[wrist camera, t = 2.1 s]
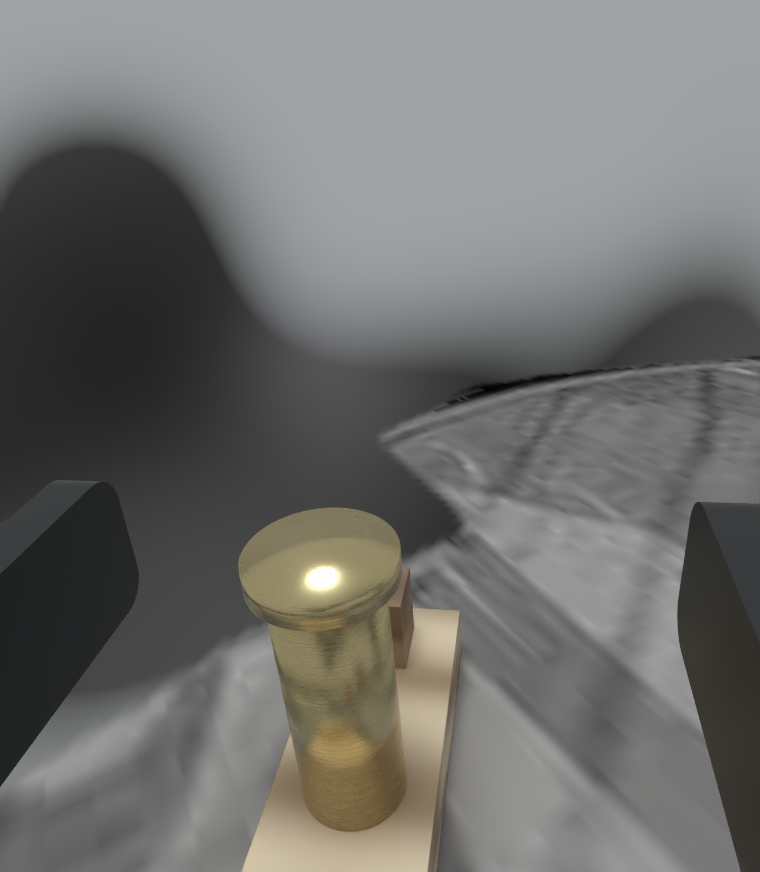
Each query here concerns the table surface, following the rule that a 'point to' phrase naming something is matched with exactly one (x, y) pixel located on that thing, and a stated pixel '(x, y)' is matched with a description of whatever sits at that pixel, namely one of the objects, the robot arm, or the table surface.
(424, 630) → the body
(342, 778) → the brass flanged cylinder
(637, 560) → the table surface
